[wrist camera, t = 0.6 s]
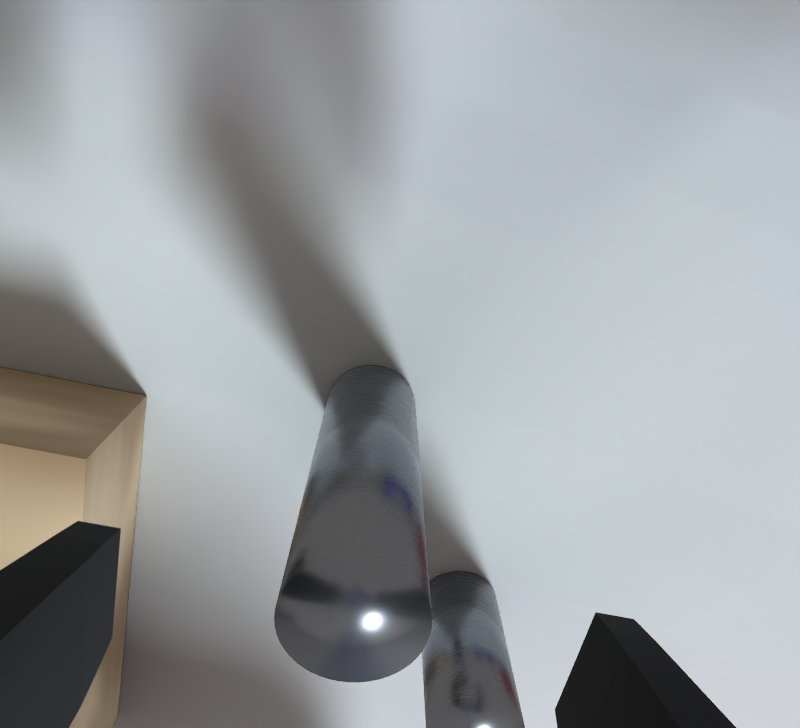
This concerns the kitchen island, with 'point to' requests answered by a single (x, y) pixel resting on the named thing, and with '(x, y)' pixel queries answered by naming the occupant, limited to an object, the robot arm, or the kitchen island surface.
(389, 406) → the long pin
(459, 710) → the short pin
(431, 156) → the kitchen island surface
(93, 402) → the bore block
